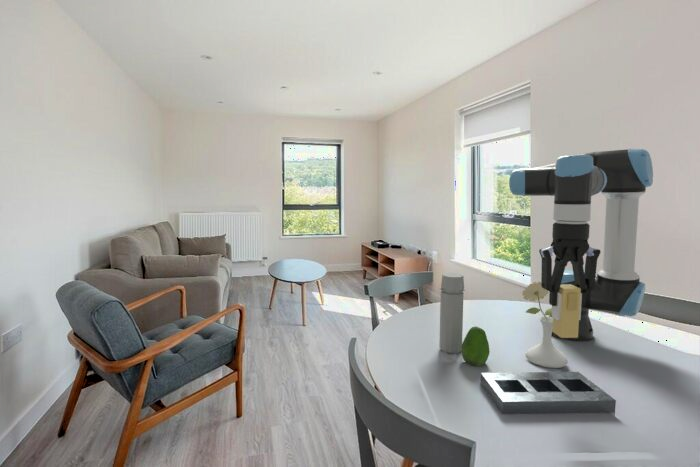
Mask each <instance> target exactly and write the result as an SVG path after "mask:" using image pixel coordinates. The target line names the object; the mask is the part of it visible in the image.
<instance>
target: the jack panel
mask: <svg viewBox="0 0 700 467" xmlns="http://www.w3.org/2000/svg"><path fill="white" fill-rule="evenodd" d="M480 385H481V387H482V388H483V390H484V391H485V392H486V394H487V395H488V397H489V398H490V400H492V402H493V404H494V405H495V406H496V408H497V409H498V410H499V412H500V413H501V414H502V415H557V414H558V415H562V414H563V415H567V414H568V415H570V414H571V415H572V414H611V415H613V417H616V416H615V415H616V404H617V400H616V399H615V398H613V397H612V396H611V395H609V394H608V393H607V392H606V391H604V390H603V389H602V388H600V387H599V386H598V385H596V384H595V383H594V382H592V380H590V379H589V378H587V377H586V376H585V375H583V373H581V372H579V371H540V372H539V371H536V372H535V371H533V372H532V371H531V372H530V371H529V372H528V371H526V372H524V371H523V372H519V371H518V372H517V371H516V372H515V371H514V372H480Z"/></svg>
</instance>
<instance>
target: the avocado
mask: <svg viewBox="0 0 700 467" xmlns="http://www.w3.org/2000/svg"><path fill="white" fill-rule="evenodd" d="M460 352H461V357H462V359H463V361H464V362H465V363H466V364H468V365H470V366H473V367H480V366H483V365H484V364H486V363H487V361H488V360H489V356H490V352H491V351H490V344H489V340H488V338H487V334H486V331H485V330H484V329H483V328H481V327H479V326H473V327H470V329H469V330H468V331H467V333H466V335H465V337H464V339H463V340H462V348H461V351H460Z"/></svg>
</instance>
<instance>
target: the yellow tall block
mask: <svg viewBox="0 0 700 467" xmlns="http://www.w3.org/2000/svg"><path fill="white" fill-rule="evenodd" d="M559 293H561V294H562V300H561V319H560V320H556V319H555V318H553V329H552V332H553V333H555V334H556V335H558V336H559V337H561V338H560V339H563V338H578V328H579V311H580V294H581V288H578V287H576V286H574V285H571V284H561V285H560V289H559ZM559 337H558V338H559Z"/></svg>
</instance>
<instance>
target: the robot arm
mask: <svg viewBox="0 0 700 467" xmlns="http://www.w3.org/2000/svg"><path fill="white" fill-rule="evenodd" d="M653 177H654V169H653V163H652V158H651V155H650V152H649V151H648V150H646V149H644V148H628V149H616V150H604V151H603V150H602V151H589V152H585V153H581V154H573V155H571V154H570V155H562V156H559V157H558V158H557V159H556V162H555V163H552V164H546V165H541V166H538V167H530V168H528V167H527V168H525V167H523V168H518V169H513V171H511V174H510V176H509V179H508V180H509V181H508V186H509V191H510V192H511V194H512V195H514V196H520V197H526V196H527V197H533V196H534V197H535V196H537V197H538V196H544V197H545V196H551V197H554V198H553V200H554V201H553V214H552V216H553V217H552V219H553V221H555V222H554V223H553V224H552V234H551V236H552V241H551V243H550V246H549V247H546V248H540V249H539V250H538V251H539V254H540V257H541V258H540V259H541V277H540V278H541V281H540V282H541V286H542V288H544V289H546V290H548V292H549V293H548V294H549V296H548V297H549V298H548V304H549V305H551V308H552V315H548V317H552V318H555V319H556V320H560V319H561V300H562V294H561V293H559V289H560V285H561V284H571V285H574V286H576V287H578V288H581V294H580V311H579V328H578V338H561V337H559V336H558V335H556V334H555V333H553V332H552V336H553V337H556V338H559V339H563V340H568V341H569V340H570V341H575V342H576V341H577V342H578V341H579V342H581V341H584V342H585V341H589V340H592V339H594V329H593V326H592V323H591V319H590V316H589V314H590V312H589V311H590V310H592V311H597V312H603V313H608V314H613V315H617V316H624V317H631V318H632V317H634V316H636V315H637V314H638V313H639V311H640V309H641V306H642V303H643V299H644V296H645V292H646V284H645V283H644V282H643V281H640V279H641V276H640V275H639V273H637V271H635V264H636V251H637V249H636V248H637V236H638V235H637V233H638V220H639V219H638V218H639V217H638V216H639V203H640V202H639V201H640V197H642V195H644V194H645V193H646V190H647V188H648V187H651V186H652V185H653V181H654V179H653ZM599 193H601V194H602V195H603V196H604V197H605V198H606V202H605V219H604V235H603V236H604V238H603V257H602V259H603V260H602V268H601V269H600V270H598V271H597V266H598V259H599V256H600V255H601V250H600V249H598V248H594V247H591V246H590V244H589V238H590V224H589V223H588V222H589V221H591V211H592V208H591V207H592V206H591V205H592V197H593V196H595V195H597V194H599ZM553 253H554V255H555V258H554V267H552V266H553V264H552V262H553V260H552V257H553ZM585 255H586V257H585V262H584V256H585ZM569 262H570V264H571V266H572V269H567V270H566V267H567V265H568V263H569ZM552 268H553V269H552Z"/></svg>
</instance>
